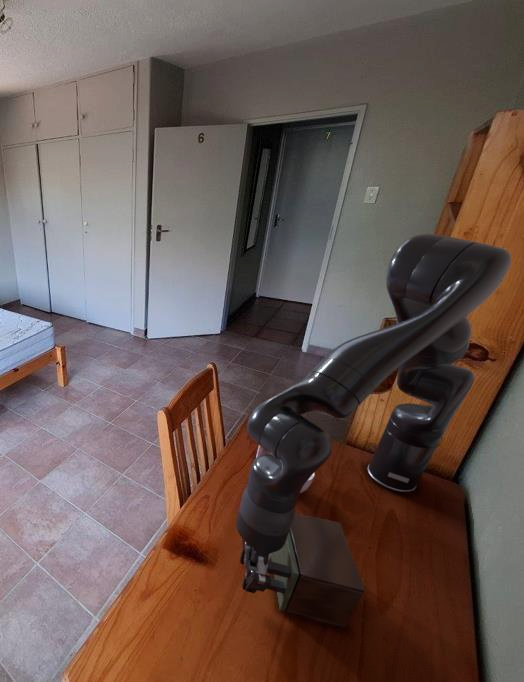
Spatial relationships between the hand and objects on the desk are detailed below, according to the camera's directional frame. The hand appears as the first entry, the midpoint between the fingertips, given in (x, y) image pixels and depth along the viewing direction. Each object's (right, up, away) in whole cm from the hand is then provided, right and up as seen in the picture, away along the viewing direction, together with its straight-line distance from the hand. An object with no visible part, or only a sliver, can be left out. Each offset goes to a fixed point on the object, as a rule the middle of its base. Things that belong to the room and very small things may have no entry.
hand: (247, 575), depth 66 cm
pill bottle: (+20, +11, +31) cm, 39 cm away
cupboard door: (+5, -3, +5) cm, 8 cm away
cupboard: (+13, -4, +3) cm, 14 cm away
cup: (+21, +6, +22) cm, 31 cm away
